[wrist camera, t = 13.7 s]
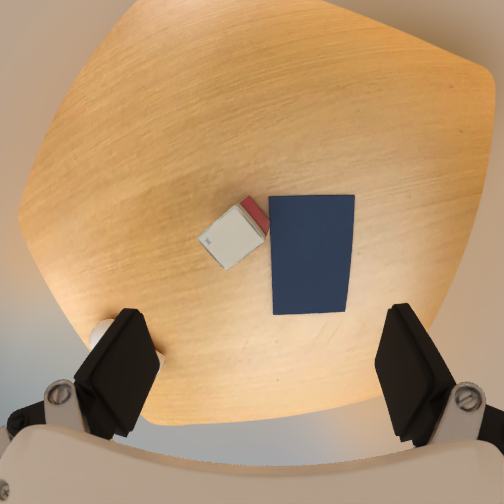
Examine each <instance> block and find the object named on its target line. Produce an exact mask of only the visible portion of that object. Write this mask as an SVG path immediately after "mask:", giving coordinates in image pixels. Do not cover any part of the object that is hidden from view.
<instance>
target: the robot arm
mask: <svg viewBox="0 0 504 504" xmlns="http://www.w3.org/2000/svg"><path fill="white" fill-rule="evenodd" d="M159 368H160V361H159V358H158V355H157V353H156V350H155V348H154V345H153V342H152V339H151V336H150V334H149V331H148V328H147V325H146V322H145V319H144V316H143V314H142V313H140V312H139V310H138V309H130V308H124V309H123V310H122V311H121V312H120V313H119V315H118V316H117V317H116V319H115V320H114V321H113V322H112V324H111V325H110V326H109V328H108V329H107V330H106V332H105V333H104V334H103V336H102V337H101V339H100V340H99V341H98V343H97V344H96V345H95V347H94V348H93V350H92V351H91V352H90V354H89V355H88V357H87V358H86V360H85V361H84V362H83V364H82V365H81V367H80V368H79V369H78V371H77V372H76V374H75V375H74V379H75V382H74V383H72V382H71V381H69V380H64V379H62V380H57V381H55V382H53V383H52V384H51V385H50V386H49V387H48V388H47V389H46V391H45V393H44V400H43V401H41V402H38V403H35V404H33V405H30V406H27V407H25V408H21V409H19V410H16V411H15V412H13V413H12V414H11V415H10V417H9V418H8V421H7V427H6V426H5V425H3V426H2V427H0V504H504V411H502V410H499V409H497V408H494V407H491V406H489V405H487V404H486V397H485V393H484V392H483V390H482V389H481V388H480V387H479V386H478V385H476V384H474V383H471V382H461V383H459V384H456V382H455V380H454V378H453V377H452V375H451V373H450V371H449V369H448V367H447V366H446V364H445V362H444V360H443V358H442V357H441V355H440V353H439V351H438V350H437V348H436V346H435V345H434V343H433V341H432V340H431V338H430V337H429V335H428V333H427V332H426V330H425V329H424V327H423V325H422V324H421V322H420V321H419V319H418V317H417V316H416V314H415V313H414V311H413V310H412V308H411V307H410V305H409V304H408V303H402V304H394V305H393V306H392V308H390V309H388V312H387V316H386V320H385V324H384V328H383V332H382V336H381V340H380V344H379V347H378V351H377V354H376V358H375V369H376V372H377V375H378V378H379V382H380V385H381V388H382V391H383V394H384V397H385V401H386V404H387V408H388V411H389V415H390V418H391V422H392V425H393V429H394V432H395V435H396V436H399V437H400V440H401V442H405V441H409V440H412V442H413V445H414V447H413V449H409V450H405V451H402V452H397V453H392V454H388V455H383V456H378V457H372V458H366V459H360V460H353V461H346V462H339V463H329V464H319V465H303V466H246V465H231V464H221V463H212V462H204V461H196V460H190V459H184V458H178V457H173V456H167V455H163V454H158V453H154V452H149V451H145V450H141V449H137V448H134V447H130V446H126V445H123V444H119V443H116V442H114V441H113V438H112V437H113V435H114V433H115V434H117V435H120V436H123V437H127V435H128V433H129V432H130V431H132V430H133V429H134V426H135V424H136V421H137V419H138V417H139V415H140V412H141V410H142V407H143V405H144V403H145V401H146V398H147V396H148V394H149V391H150V389H151V387H152V385H153V382H154V380H155V378H156V376H157V373H158V371H159Z"/></svg>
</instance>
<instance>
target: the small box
mask: <svg viewBox="0 0 504 504" xmlns="http://www.w3.org/2000/svg"><path fill="white" fill-rule="evenodd" d="M270 223H271V222H270V220H269V219H268V218H267V217H266V215H265V214H264V213H263V211H262V210H261V209H260V208H259V207H258V205H257V204H256V203H255V202H254V201H253V200H252V199H251V198H250V196H248V195H247V196H245V197H244V198H243V199H242V200H240V201H239V202H238V203H236V204H235V205H234V206H232V207H231V208H230V209H229V210H228V211H226V212H225V213H224V214H223V215H222V216H221V217H219V218H218V219H217V220H216V221H215V222H214V223H212V224H211V225H210V226H209V227H208V228H207V229H206V230H205V231H204V232H202V233H201V234H200V235H199V236H198V237H197V240H198V241H199V242H200V243H201V244H202V246H203V247H204V248H205V249H206V250H207V251H208V253H209V254H210V255H211V256H212V257H213V258H214V259H215V260H216V261H217V262H218V263H219V264H220V265H221V266H222V267H223V268H224V270H228V269H230V268H231V267H232V266H234V265H235V264H237V263H238V262H239V261H241V260H242V259H243V258H245V257H246V256H247V255H248V254H250V253H251V252H252V251H253V250H255V249H256V248H257V247H258V246H259V245H261V244H262V243H263V242H264V241H265V238H266V235H267V232H268V229H269V226H270Z"/></svg>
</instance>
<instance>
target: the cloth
mask: <svg viewBox="0 0 504 504" xmlns="http://www.w3.org/2000/svg"><path fill="white" fill-rule="evenodd" d="M354 201H355V196H354V195H305V196H270V197H269V213H270V222H271V223H270V236H271V261H272V290H273V315H285V314H310V313H329V312H345V307H346V300H347V292H348V283H349V274H350V264H351V252H352V239H353V224H354Z"/></svg>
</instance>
